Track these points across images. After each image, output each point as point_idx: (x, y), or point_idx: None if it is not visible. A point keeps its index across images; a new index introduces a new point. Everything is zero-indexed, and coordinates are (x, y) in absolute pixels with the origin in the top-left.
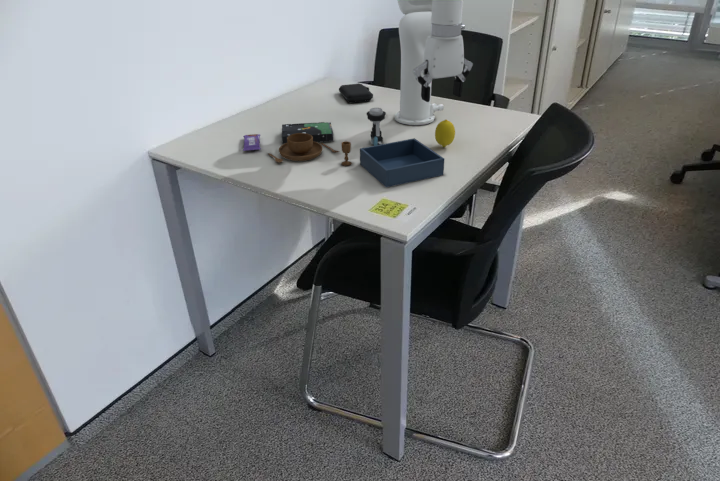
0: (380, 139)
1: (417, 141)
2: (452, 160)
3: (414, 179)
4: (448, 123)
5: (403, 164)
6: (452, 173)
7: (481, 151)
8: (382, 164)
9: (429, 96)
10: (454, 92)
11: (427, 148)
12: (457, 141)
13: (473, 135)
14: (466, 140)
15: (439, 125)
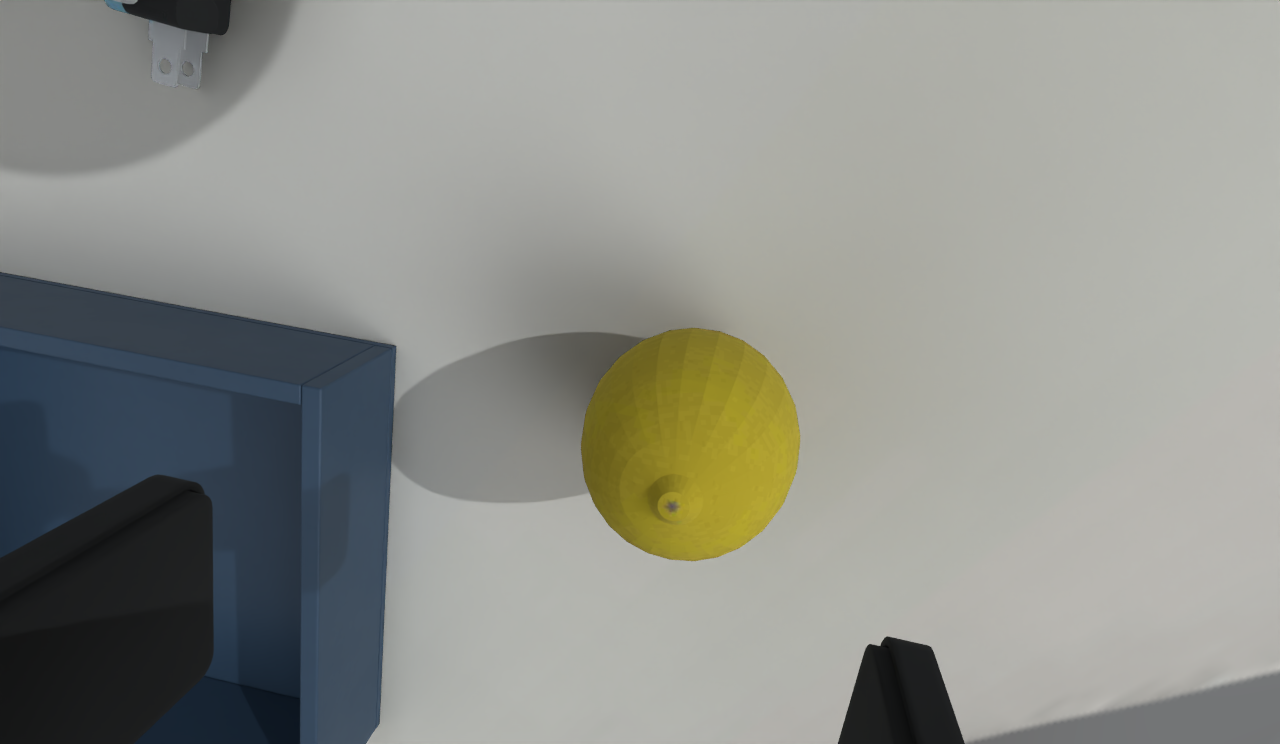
0: (165, 23)
1: (305, 467)
2: (579, 611)
3: None
4: (669, 544)
5: (215, 470)
6: (445, 740)
7: (898, 635)
8: (82, 379)
9: (126, 739)
10: (862, 719)
11: (300, 629)
12: (909, 361)
13: (1177, 339)
14: (1001, 394)
15: (593, 465)
